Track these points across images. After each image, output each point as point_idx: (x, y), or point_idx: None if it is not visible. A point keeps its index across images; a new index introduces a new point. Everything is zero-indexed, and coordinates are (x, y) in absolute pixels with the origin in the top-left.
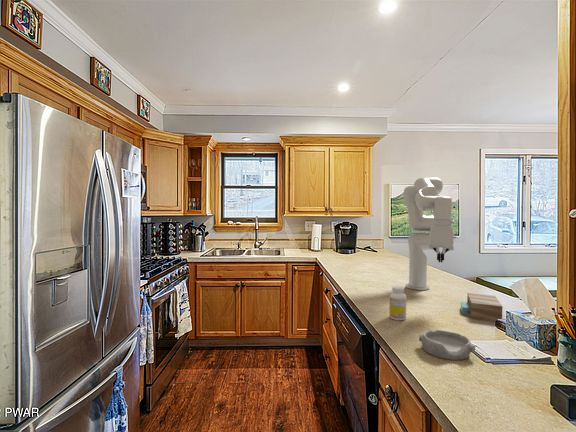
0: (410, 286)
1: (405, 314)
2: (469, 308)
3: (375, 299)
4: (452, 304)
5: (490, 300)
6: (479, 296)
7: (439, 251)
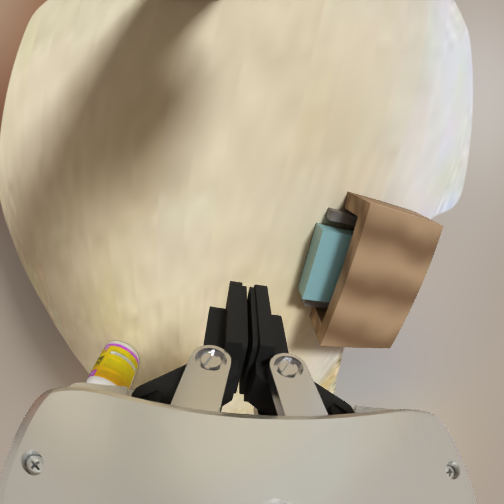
0: None
1: (136, 371)
2: (322, 301)
3: (44, 204)
4: (301, 176)
5: (396, 299)
6: (389, 255)
7: (228, 384)
